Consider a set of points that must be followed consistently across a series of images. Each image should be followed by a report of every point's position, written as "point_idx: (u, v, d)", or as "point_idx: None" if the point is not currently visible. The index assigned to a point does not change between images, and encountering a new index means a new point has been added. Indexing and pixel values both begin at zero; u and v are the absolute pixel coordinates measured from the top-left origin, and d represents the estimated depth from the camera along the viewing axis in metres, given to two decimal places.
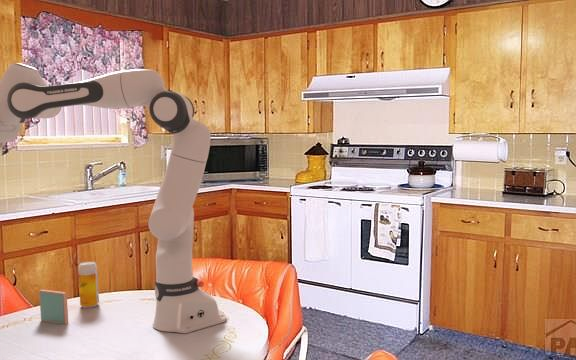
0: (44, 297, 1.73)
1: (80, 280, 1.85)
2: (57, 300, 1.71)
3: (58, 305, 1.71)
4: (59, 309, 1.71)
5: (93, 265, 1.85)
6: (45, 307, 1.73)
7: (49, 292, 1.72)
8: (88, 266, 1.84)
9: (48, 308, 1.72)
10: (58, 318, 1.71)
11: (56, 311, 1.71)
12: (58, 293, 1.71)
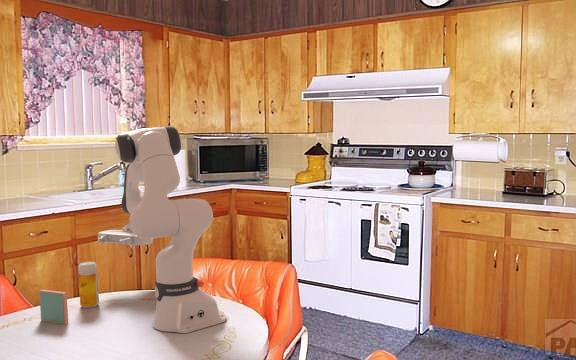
0: (44, 297, 1.73)
1: (80, 280, 1.85)
2: (57, 300, 1.71)
3: (58, 305, 1.71)
4: (59, 309, 1.71)
5: (93, 265, 1.85)
6: (45, 307, 1.73)
7: (49, 292, 1.72)
8: (88, 266, 1.84)
9: (48, 308, 1.72)
10: (58, 318, 1.71)
11: (56, 311, 1.71)
12: (58, 293, 1.71)
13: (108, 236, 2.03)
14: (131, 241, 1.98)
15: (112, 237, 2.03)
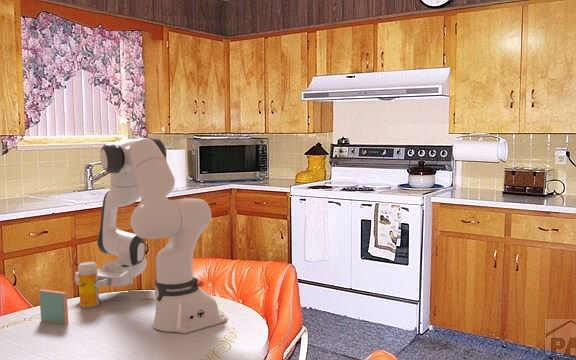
0: (44, 297, 1.73)
1: (80, 280, 1.85)
2: (57, 300, 1.71)
3: (58, 305, 1.71)
4: (59, 309, 1.71)
5: (93, 265, 1.85)
6: (45, 307, 1.73)
7: (49, 292, 1.72)
8: (88, 266, 1.84)
9: (48, 308, 1.72)
10: (58, 318, 1.71)
11: (56, 311, 1.71)
12: (58, 293, 1.71)
13: None
14: (107, 283, 1.88)
15: None
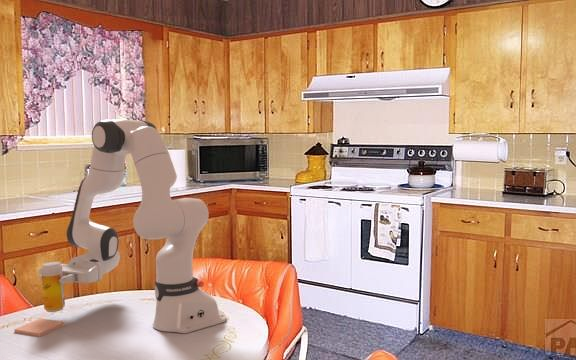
0: None
1: (43, 282, 1.69)
2: None
3: None
4: None
5: (57, 265, 1.70)
6: None
7: None
8: (52, 266, 1.69)
9: None
10: None
11: None
12: None
13: None
14: (73, 278, 1.73)
15: None
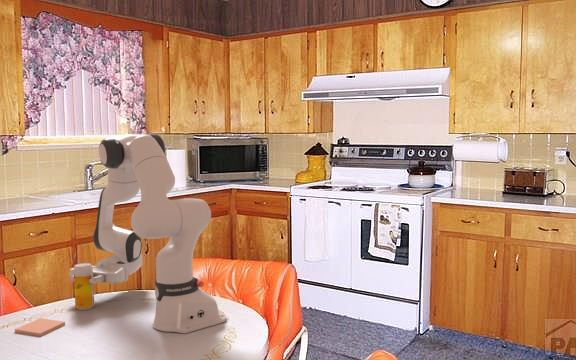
0: None
1: (75, 282, 1.83)
2: None
3: None
4: None
5: (89, 266, 1.84)
6: None
7: None
8: (84, 267, 1.82)
9: None
10: None
11: None
12: (35, 335, 1.62)
13: None
14: (102, 279, 1.86)
15: None
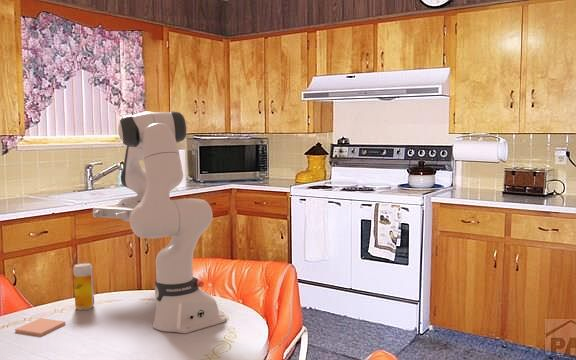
0: None
1: (75, 282, 1.83)
2: None
3: None
4: None
5: (88, 266, 1.84)
6: None
7: None
8: (83, 267, 1.82)
9: None
10: None
11: None
12: None
13: (103, 210, 2.01)
14: (126, 215, 1.96)
15: (107, 211, 2.00)
